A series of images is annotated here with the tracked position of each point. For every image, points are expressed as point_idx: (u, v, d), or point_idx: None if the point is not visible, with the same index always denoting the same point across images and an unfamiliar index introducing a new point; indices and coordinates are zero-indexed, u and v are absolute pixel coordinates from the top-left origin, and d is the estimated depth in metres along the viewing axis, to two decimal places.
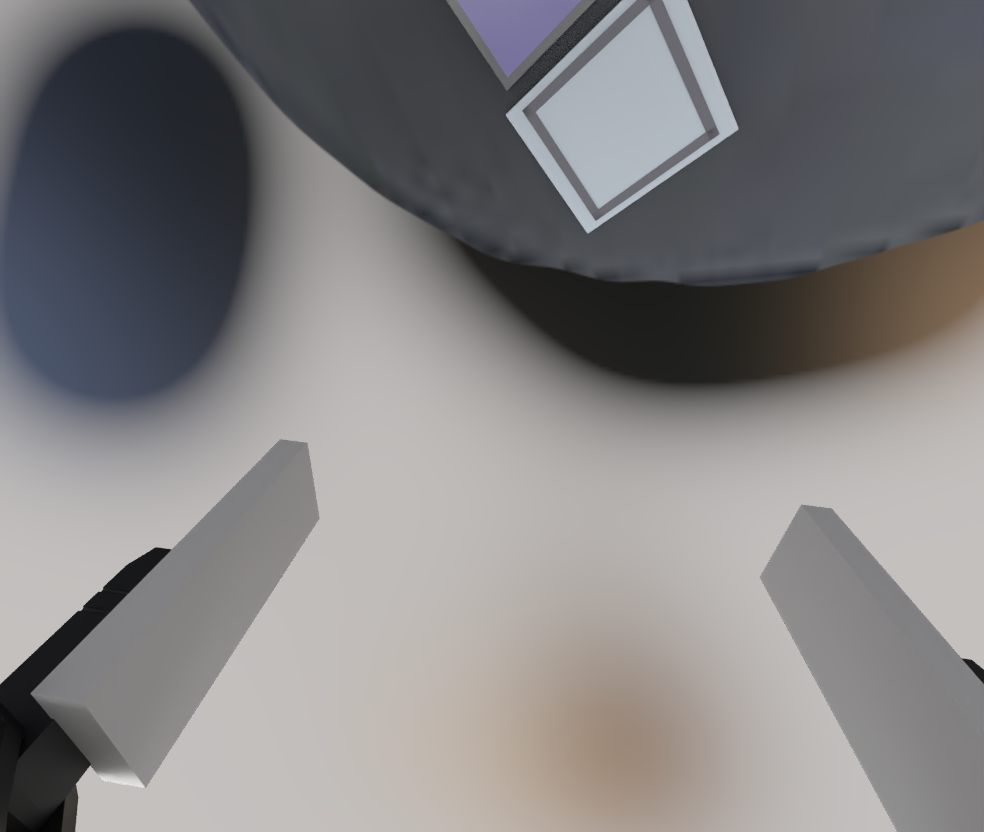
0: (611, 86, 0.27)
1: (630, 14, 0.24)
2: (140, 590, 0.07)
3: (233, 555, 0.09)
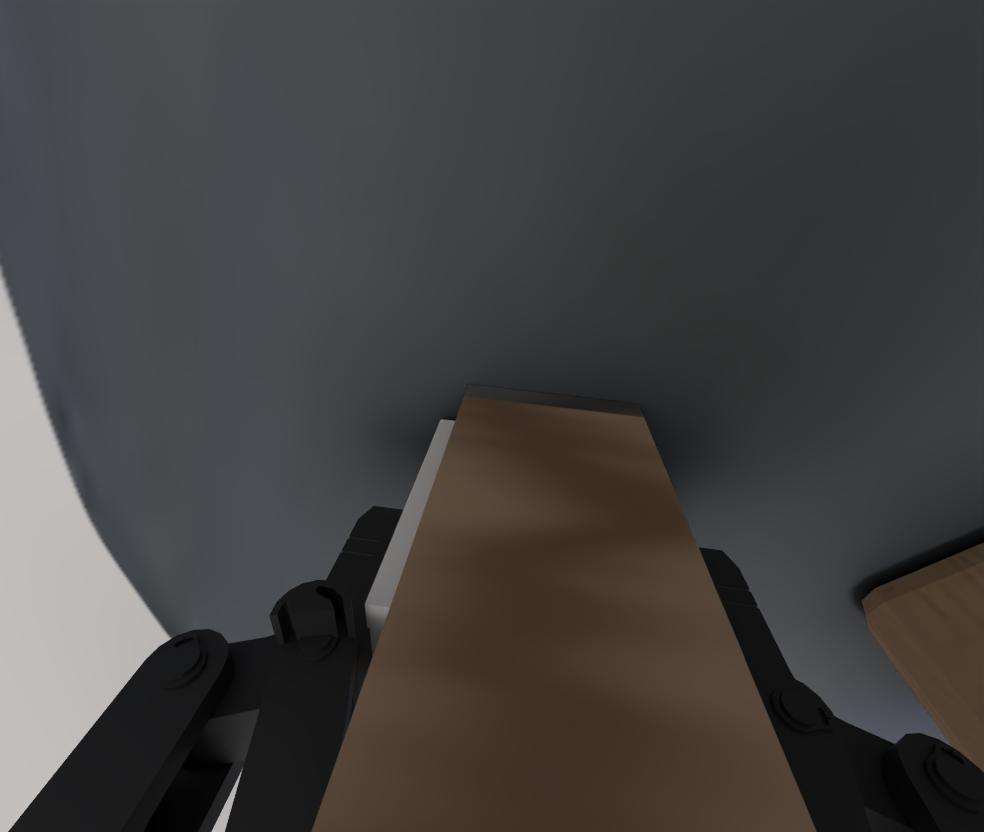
0: None
1: None
2: (399, 534, 0.09)
3: None
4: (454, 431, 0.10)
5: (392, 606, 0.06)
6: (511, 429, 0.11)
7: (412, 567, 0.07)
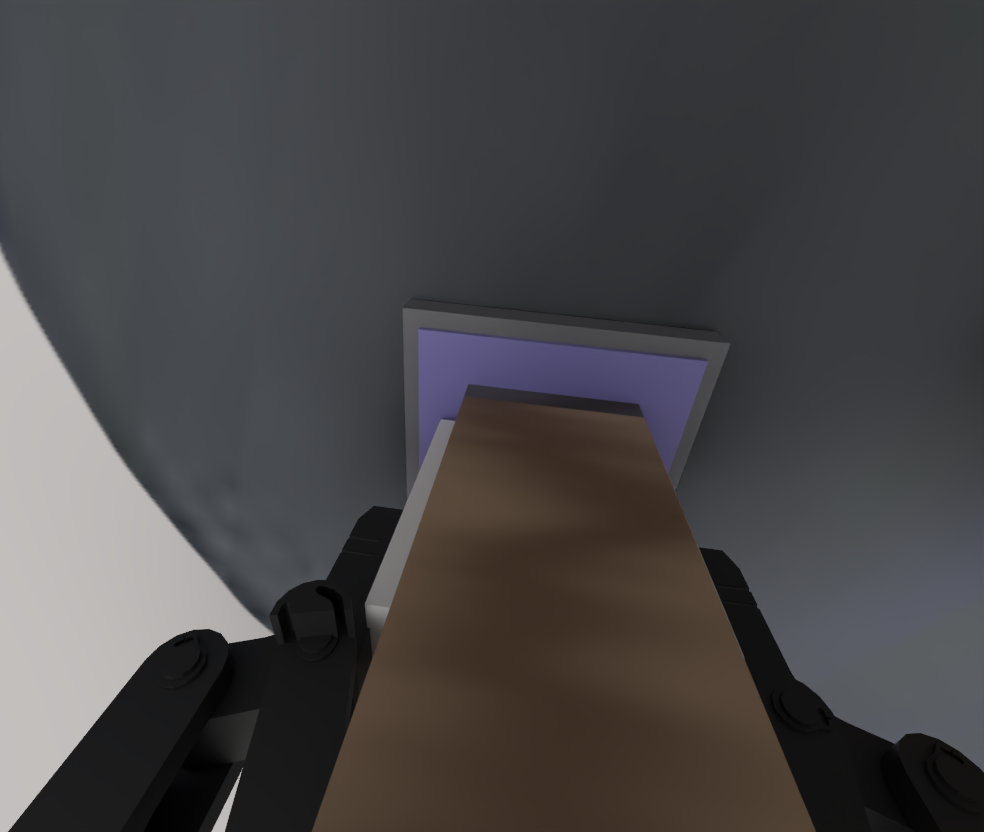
0: None
1: None
2: (399, 534, 0.09)
3: None
4: (454, 431, 0.10)
5: (392, 607, 0.06)
6: (511, 430, 0.11)
7: (412, 568, 0.07)
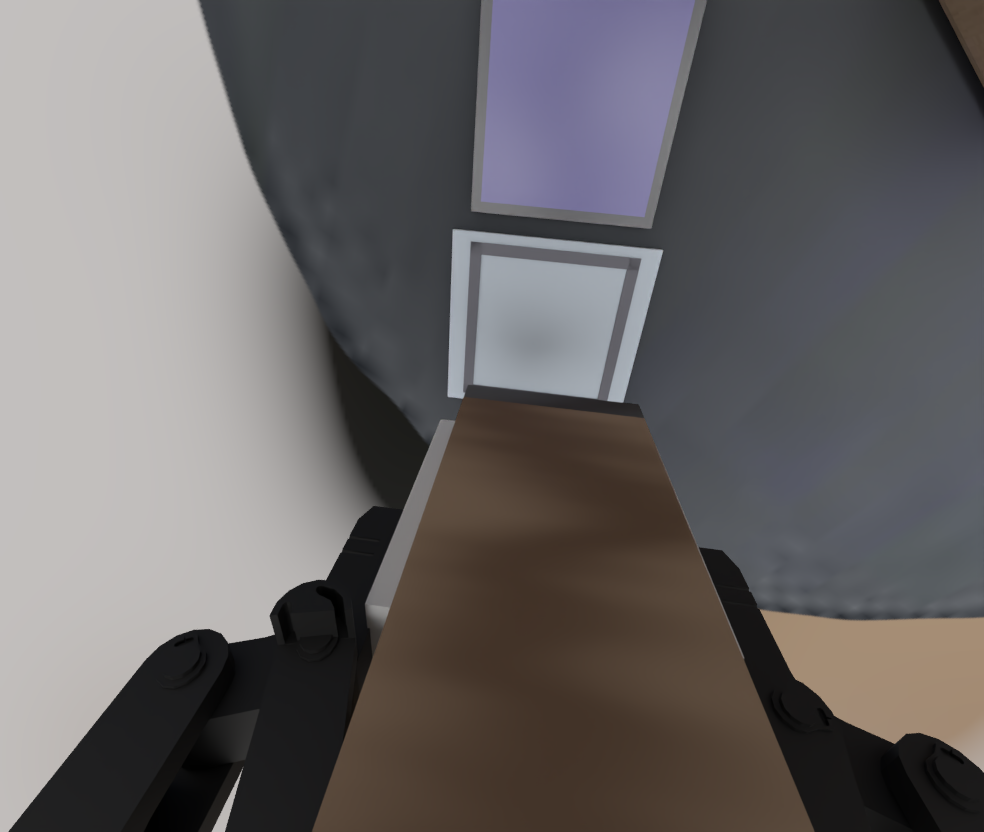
0: (557, 298, 0.24)
1: (609, 262, 0.23)
2: (399, 534, 0.09)
3: None
4: (454, 432, 0.10)
5: (391, 608, 0.06)
6: (510, 430, 0.11)
7: (411, 569, 0.07)
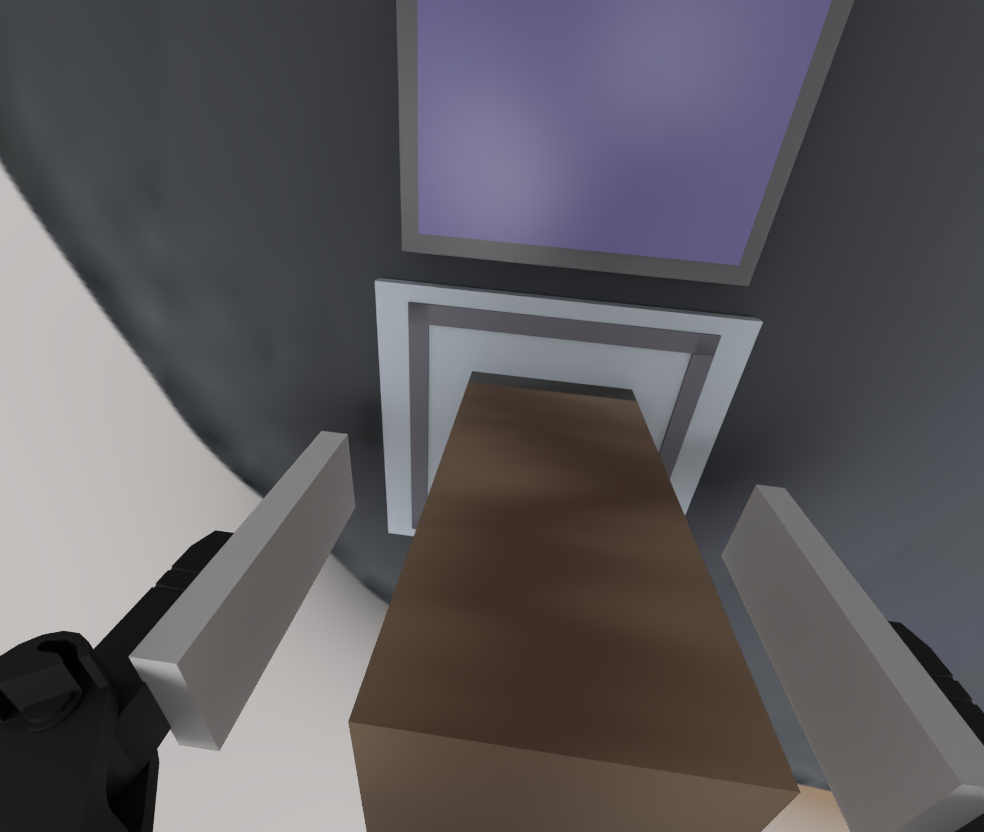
0: None
1: (661, 340, 0.12)
2: (212, 567, 0.08)
3: (289, 537, 0.09)
4: (460, 412, 0.11)
5: (407, 556, 0.07)
6: (512, 411, 0.12)
7: (425, 524, 0.08)
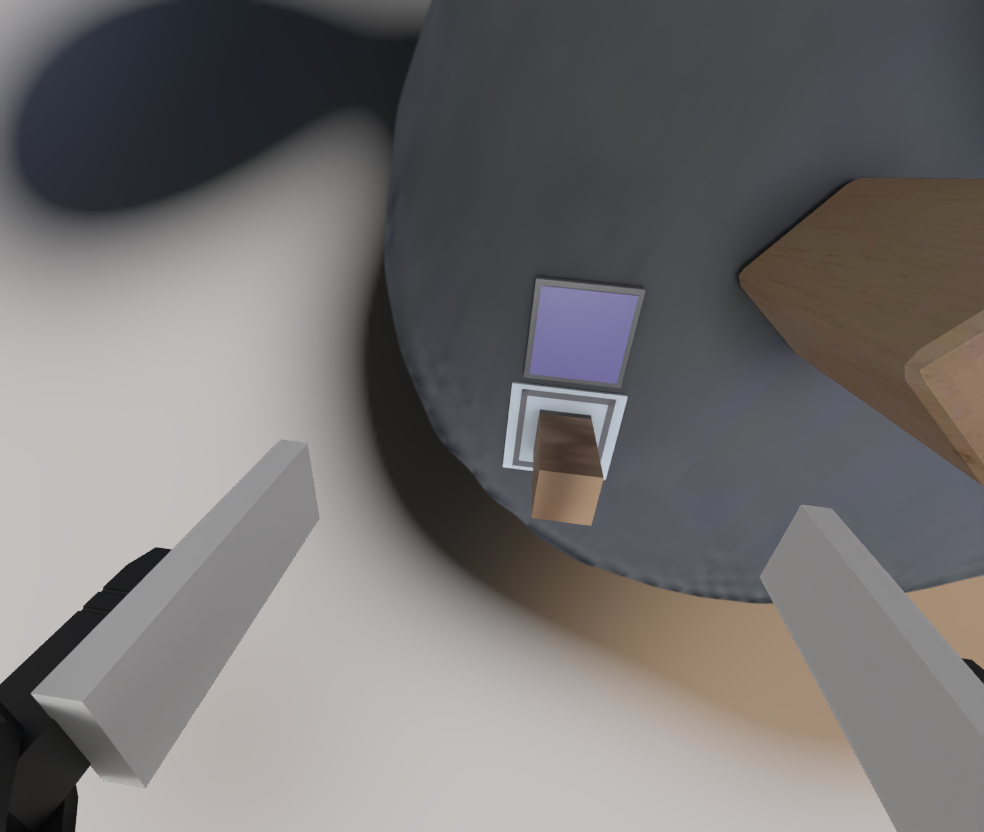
0: None
1: (598, 400, 0.41)
2: (140, 590, 0.07)
3: (233, 555, 0.09)
4: (540, 423, 0.40)
5: (539, 452, 0.36)
6: (554, 422, 0.40)
7: (541, 447, 0.36)
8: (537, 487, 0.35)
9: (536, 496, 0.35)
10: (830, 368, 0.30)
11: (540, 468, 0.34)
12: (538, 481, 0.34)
